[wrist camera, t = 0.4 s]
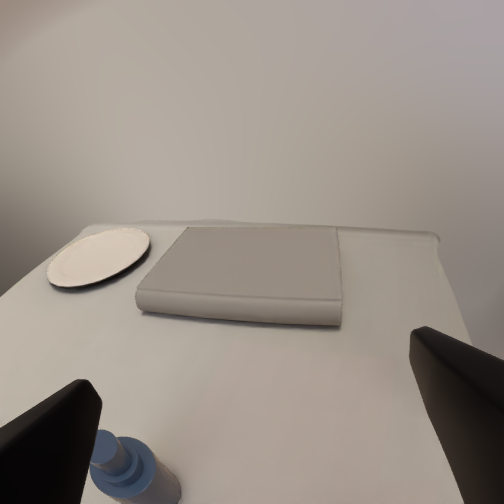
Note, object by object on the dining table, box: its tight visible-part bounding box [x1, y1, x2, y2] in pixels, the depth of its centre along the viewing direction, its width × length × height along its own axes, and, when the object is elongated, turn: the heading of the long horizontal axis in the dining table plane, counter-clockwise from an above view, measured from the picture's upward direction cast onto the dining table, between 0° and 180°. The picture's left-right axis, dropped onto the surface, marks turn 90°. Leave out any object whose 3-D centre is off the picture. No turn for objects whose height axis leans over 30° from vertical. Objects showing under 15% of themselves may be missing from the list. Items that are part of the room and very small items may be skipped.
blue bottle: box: [90, 430, 180, 504], centre depth 15 cm, size 5×5×8 cm
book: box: [135, 227, 342, 326], centre depth 41 cm, size 18×4×24 cm
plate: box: [47, 228, 150, 288], centre depth 50 cm, size 21×21×2 cm
